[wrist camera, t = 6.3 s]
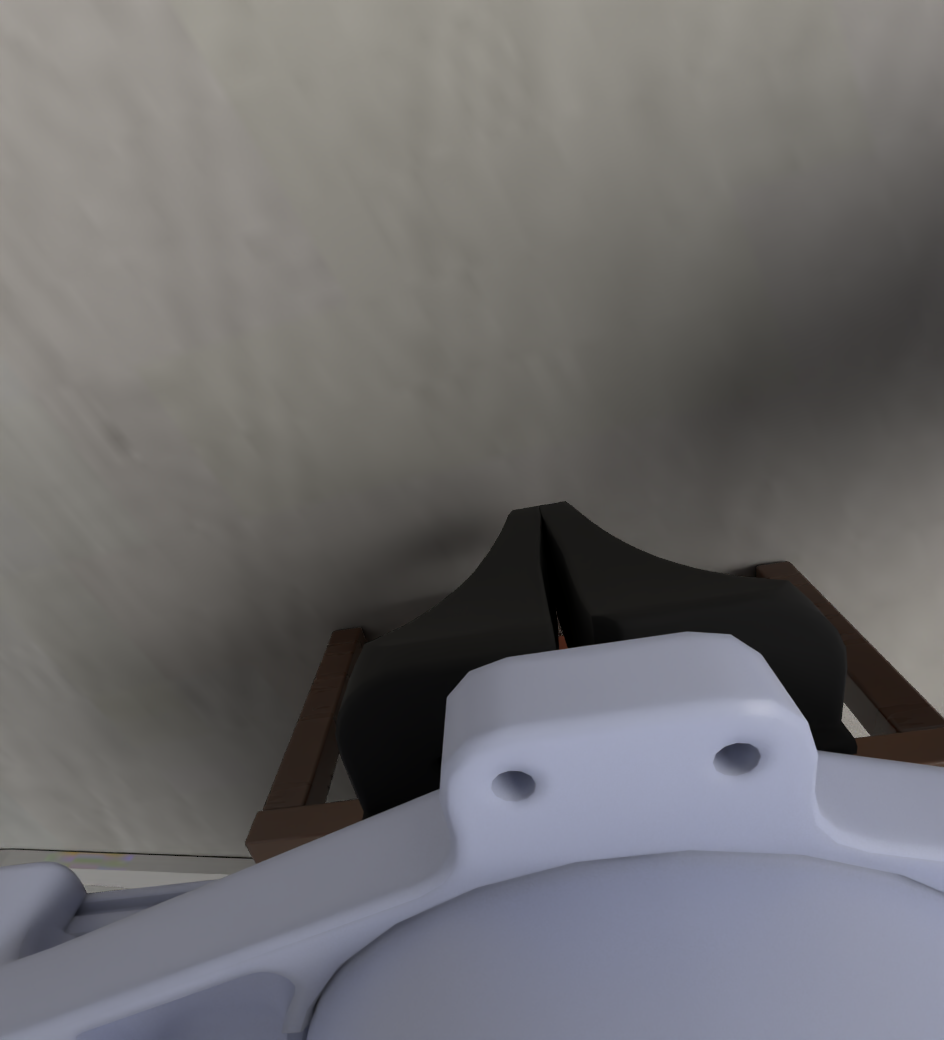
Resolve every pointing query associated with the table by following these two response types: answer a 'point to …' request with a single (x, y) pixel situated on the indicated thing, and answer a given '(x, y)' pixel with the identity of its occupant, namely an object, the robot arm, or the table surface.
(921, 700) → the desk
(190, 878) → the network device
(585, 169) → the table surface
